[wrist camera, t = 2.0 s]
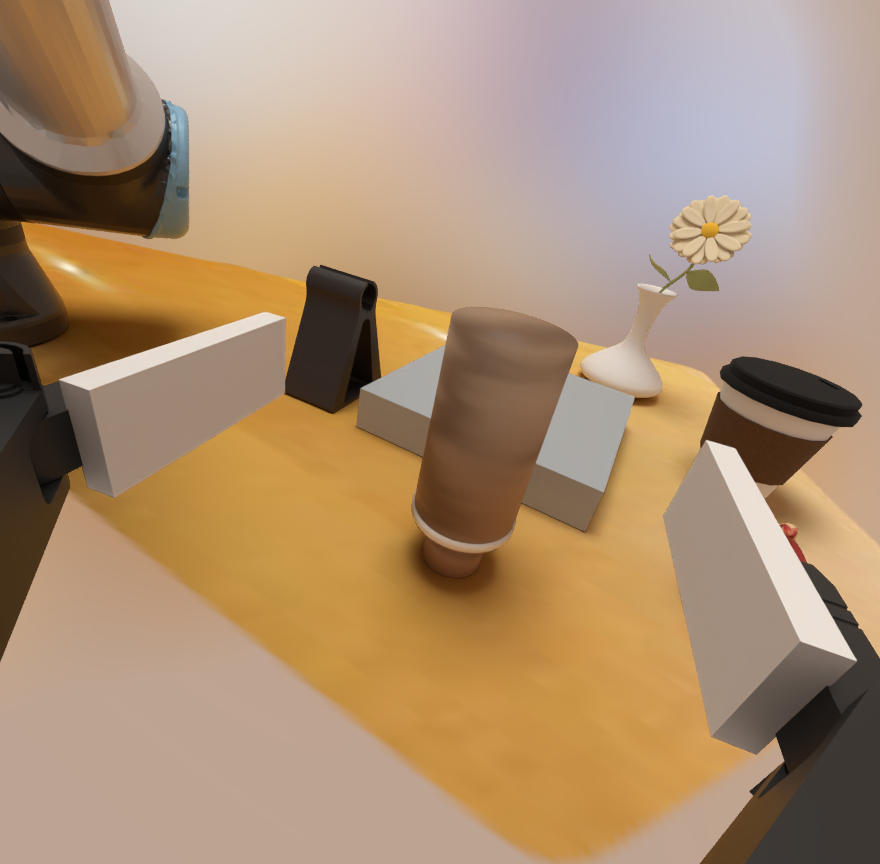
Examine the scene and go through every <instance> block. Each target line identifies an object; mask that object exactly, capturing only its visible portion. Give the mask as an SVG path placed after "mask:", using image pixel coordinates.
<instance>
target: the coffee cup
mask: <svg viewBox="0 0 880 864" xmlns="http://www.w3.org/2000/svg"><path fill="white" fill-rule="evenodd" d="M720 375H721V379H722V380H724V383H723V386H722V389H721V391H720V392H718V394H717V397H716V400H715V402H714V405H713V408H712V411H711V413H710V416H709V419H708V422H707V425H706V427H705V430H704V433H703V436H702V439H701V441H700V450H701V448H702V446H703V444H704V443H705V441H706V440H708V441H711V442H715V443H718V444H722V445H725V446H729V447H732V448H735V449H736V450H737V452H738V454H739V456H740V457H741V459H742V461H743V463H744V464H745V466H746V468H747V470H748V471H749V473H750V475H751V477H752V478H753V480H754V482H755V484H756V485H757V487H758V489H759V491H760V492H761V494H762V496H763V498H764V499H765V498H766V497H767V496H768V495H769V494H770V493H771V492H773V491H774V490H775V489H776V488H777V487H778V486H779V485H783V484H784V483H785V482H786V481H787V480H788V479H789V478H790V477H791V476H793V475H794V474H795V473H796V472H797V471H798V470H799V469H800V468H801V467H802V466H803V465H804V464H805V463H806V462H807V461H808V460H809V459H810V458H811V457H812V456H814V454H816V453H817V452H818V451H819V450H820V449H821V448H822V447H823V446H824V445H825V444H826V443H827V442H828V441H829V440H830V439H831V438H832V435H833V433H835V432H836V431H837V430H838V429H839V428H840V427H853V426H854V425H855V424H856V423H857V422H858V421H859V419H860V418H861V417H862V416H861V415H860V413H859V412H858V410H859V409H860V408H861V406H862V403H861V402H860V400H859V399H858V398H857V397H856V396H855V395H854V394H852V393H850V392H849V391H847V390H846V389H844V388H842V387H841V386H839V385H836V384H834V383H832V382H830V381H828V380H826V379H823V378H821V377H819V376H816V375H814V374H811V373H808V372H806V371H803V370H800V369H798V368H794V367H791V366H788V365H784V364H781V363H777V362H774V361H769V360H765V359H760V358H754V357H740V358H736V359H733V360H732V361H731V363H730V364H728V365H725V366H723V367H722V369H721V371H720ZM700 450H699V451H700Z"/></svg>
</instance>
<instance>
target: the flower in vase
mask: <svg viewBox="0 0 880 864" xmlns="http://www.w3.org/2000/svg"><path fill="white" fill-rule="evenodd" d="M750 219H751V215H750V214H749V213H748V209H747V208H742V207H741V206H740V202H739V201H738V200H733V201H731V200H729V197H728V196H722V197H721V198H715V197H714V196H709V197H707V199H706V200H705V201H704V200H700V201H697V200H693V201H692V202H691V203H690V205H689V206H687V207H685V208H683V210H682V213H680V214H679V215H678V217H676V218H674V220H673V224H671V225H670V230H671V231H672V233H671V234H670V238H671V239H672V240H674V241H672V242H671V243H670V247H671V248H672V249H674V251H676V252H678V255H679V256H681V257H687V261H688V262H692V264H691V265H690V267H689V268H688V269H687V270H686V271H685V272H683V273H682V274H681V275H679V276H678V277H677V278H675V279H674V280H672V281H671V282H670V283H668V284H667V285H666V286H664V287H663V288H660V287H657V286H652V285H647V284H638V285H637V286H638V290H639V297H640V298H639V306H638V311H637V315H636V318H635V321H634V323H633V326H632V328H631V331H630V333H629V334H628V336H627V337H626V339H625V340H624V341H623V342H621V343H619V344H617V345H615V346H612V347H609V348H606V349H603V350H601V351H598V352H595V353H593V354H591V355H589V356H587V357H586V358H585V359H584V360H583V361H582V362H581V364H580V366H581V370H582V372H583V374H584V375H585V376H586V377H587V378H588V379H589V380H591V381H592V382H595V383H598V384H601V385H603V386H606V387H609V388H612V389H615V390H618V391H620V392H623V393H626V394H629V395H632V396H635V397H636V398H649V397H654V396H656V395H657V394H659V393H660V392H661V391H662V381H661V378H660V376H659V373H658V372H657V370H656V368H655V367H654V365H653V363H652V362H651V360H650V359H649V357H648V355H647V353H646V350H645V342H646V338H647V335H648V333H649V331H650V329H651V326H652V324H653V323H654V321H655V319H656V317H657V315H658V314H659V313H660V311H661V310H662V309H663V308H664V306H666V304H667V303H669V302H670V301H671V300H673V299H674V298H676V297H677V296H678V295H677V294H676V293H674V292H672V291H670V290H667V289H666V288H668V287H669V286H670V285H671V284H673V283H674V282H676V281H677V280H678V279H680V278H681V277H683V276H684V275H685V274H686V273H687V275H686V279H687V282H688V285H689V287H690V288H691V289H693V290H698V291H719V287H718V284H717V281H716V279H715V277H714V276H713V274H712V273H711V272H710V271H708V270H704V269H703V270H694V271H690V272H689V270H690V269H691V268H692V267H693V265H694V264H706V263H707V261H710V262H715V263H719V262H721V261H727V260H729V259H730V258H731V257H733V255H734V252H733V251H738V250H741V249H742V247H743V244H746V243H747V242H748V241H749V239H750V238H751V237H752V234H751V233H750V232H748V231H747V230H749V229H750V228H751V224H750V222H748V221H749V220H750ZM650 261H651V264H652V265H653V266H654V268H655V269H656V270H657V271H658V272H659V273H661V274H662V275H663V276H664V277H665V278H666V279H667V280H669V281H670V279H669V277H668V275H667V273H666V272H665V271H664V270H663V269H662V268H661V267H660V266H658V265H657V264H655V262H654V261H653V260H652V259H651V257H650Z"/></svg>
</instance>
